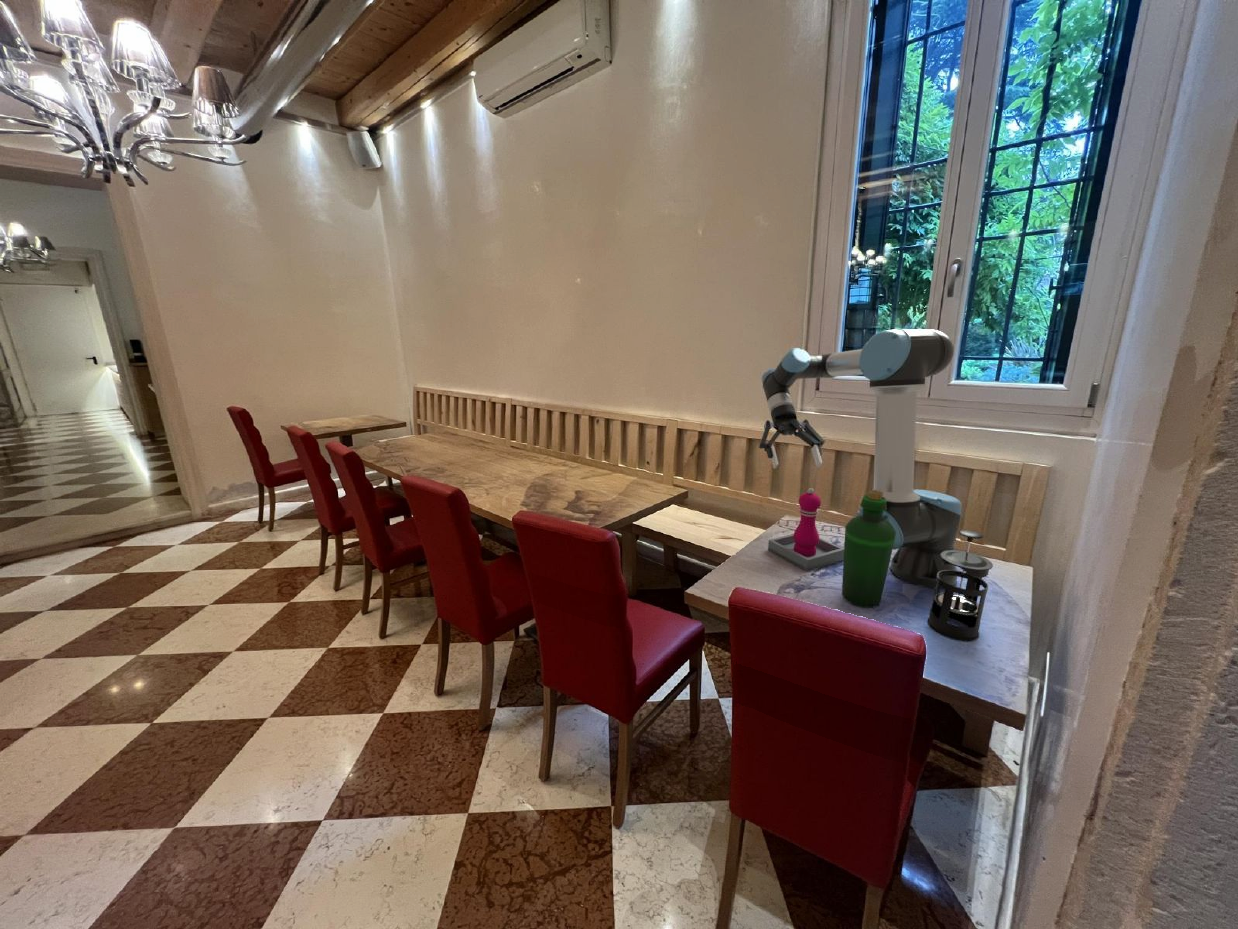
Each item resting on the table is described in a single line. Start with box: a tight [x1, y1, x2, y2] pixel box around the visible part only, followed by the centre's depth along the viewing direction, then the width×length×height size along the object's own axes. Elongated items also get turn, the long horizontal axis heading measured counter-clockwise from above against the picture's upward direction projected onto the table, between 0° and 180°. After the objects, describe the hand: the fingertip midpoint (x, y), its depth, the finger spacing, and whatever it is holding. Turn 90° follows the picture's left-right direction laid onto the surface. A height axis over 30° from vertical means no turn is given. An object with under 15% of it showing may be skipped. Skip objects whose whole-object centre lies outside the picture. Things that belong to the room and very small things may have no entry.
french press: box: [926, 529, 994, 642], centre depth 99 cm, size 12×9×23 cm
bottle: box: [841, 489, 896, 609], centre depth 110 cm, size 11×11×28 cm
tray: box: [767, 533, 844, 572], centre depth 137 cm, size 15×15×4 cm
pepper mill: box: [793, 487, 822, 556], centre depth 135 cm, size 7×7×20 cm
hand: (798, 465), depth 141 cm, fingers open, 13 cm apart
